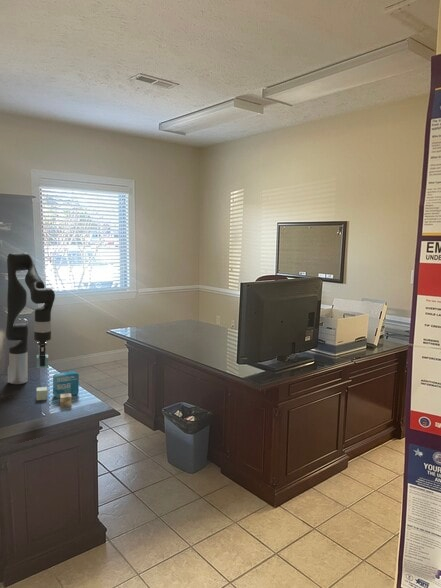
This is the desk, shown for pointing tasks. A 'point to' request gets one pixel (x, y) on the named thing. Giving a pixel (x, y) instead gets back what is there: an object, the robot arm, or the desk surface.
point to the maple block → (65, 400)
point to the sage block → (41, 393)
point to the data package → (65, 383)
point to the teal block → (39, 362)
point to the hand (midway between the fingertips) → (42, 364)
